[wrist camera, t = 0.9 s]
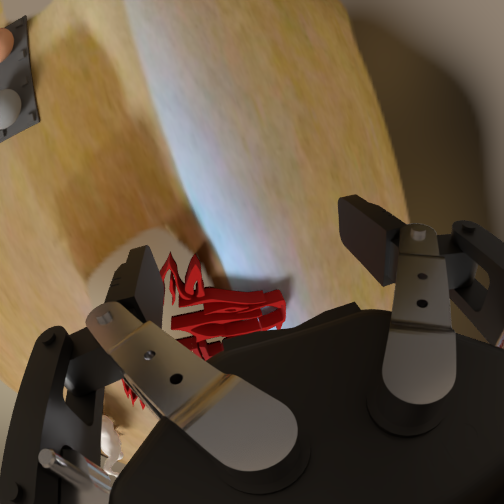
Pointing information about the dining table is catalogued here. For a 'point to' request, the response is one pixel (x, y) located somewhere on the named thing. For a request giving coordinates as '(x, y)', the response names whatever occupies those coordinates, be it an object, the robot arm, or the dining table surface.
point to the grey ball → (9, 107)
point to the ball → (5, 43)
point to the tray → (19, 79)
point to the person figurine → (110, 444)
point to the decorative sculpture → (216, 312)
